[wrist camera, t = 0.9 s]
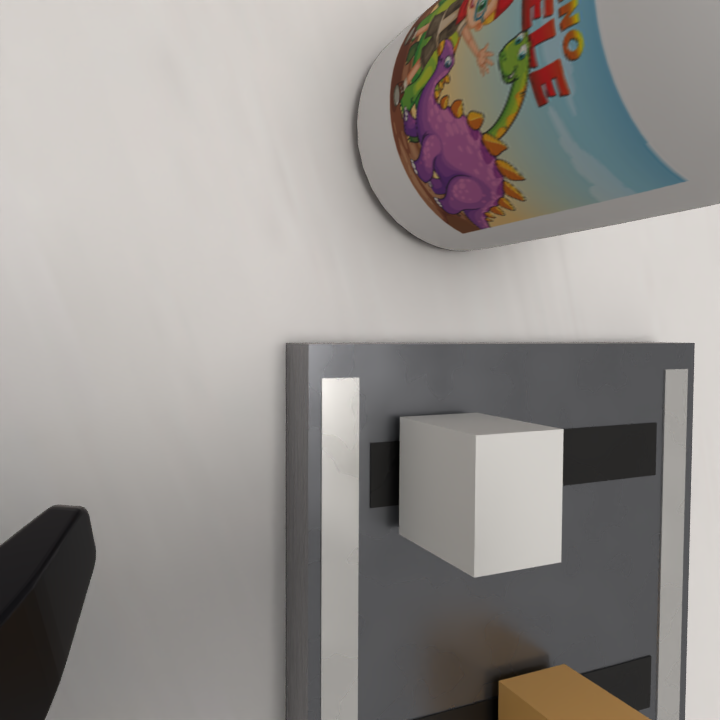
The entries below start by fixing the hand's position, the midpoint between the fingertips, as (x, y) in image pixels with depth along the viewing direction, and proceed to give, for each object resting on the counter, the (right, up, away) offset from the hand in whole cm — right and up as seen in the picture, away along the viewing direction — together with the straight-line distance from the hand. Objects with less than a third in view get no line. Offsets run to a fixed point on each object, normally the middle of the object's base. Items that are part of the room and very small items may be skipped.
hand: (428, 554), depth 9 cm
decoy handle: (+1, -1, +13) cm, 13 cm away
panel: (+4, -10, +16) cm, 19 cm away
